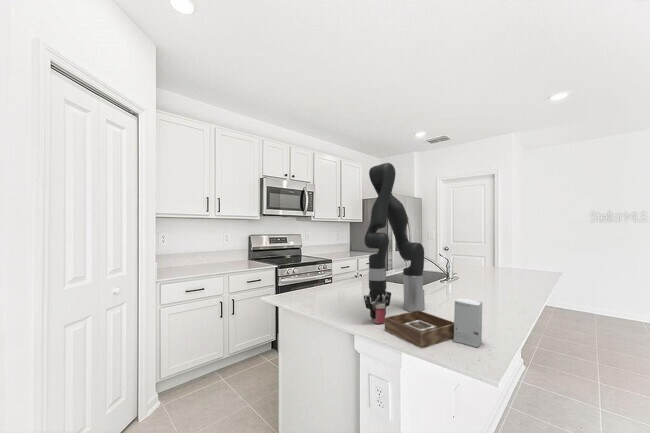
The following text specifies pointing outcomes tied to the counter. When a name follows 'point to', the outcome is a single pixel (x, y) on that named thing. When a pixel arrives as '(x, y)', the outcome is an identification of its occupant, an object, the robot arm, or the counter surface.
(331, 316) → the counter surface
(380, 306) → the small box
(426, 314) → the crate
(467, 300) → the skincare box
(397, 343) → the counter surface
